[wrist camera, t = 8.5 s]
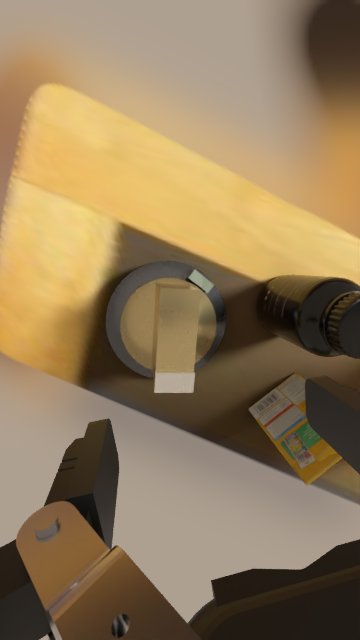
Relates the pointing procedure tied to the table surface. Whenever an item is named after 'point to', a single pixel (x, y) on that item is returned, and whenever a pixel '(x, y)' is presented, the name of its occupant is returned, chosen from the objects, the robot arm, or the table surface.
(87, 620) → the robot arm
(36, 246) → the table surface
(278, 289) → the supplement bottle
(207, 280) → the base
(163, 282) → the knob
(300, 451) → the crayon box
